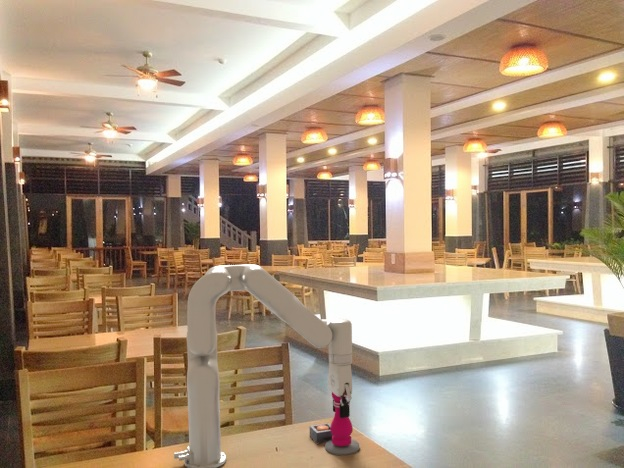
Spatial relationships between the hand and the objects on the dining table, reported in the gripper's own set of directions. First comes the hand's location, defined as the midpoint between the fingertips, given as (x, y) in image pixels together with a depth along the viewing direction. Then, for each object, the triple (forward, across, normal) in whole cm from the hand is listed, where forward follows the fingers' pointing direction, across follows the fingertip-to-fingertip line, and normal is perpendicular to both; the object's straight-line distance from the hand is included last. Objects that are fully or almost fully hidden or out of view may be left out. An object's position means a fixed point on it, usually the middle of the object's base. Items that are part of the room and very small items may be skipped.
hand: (341, 413), depth 182 cm
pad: (+11, 0, 0) cm, 11 cm away
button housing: (+11, -10, -3) cm, 15 cm away
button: (+10, -10, -3) cm, 14 cm away
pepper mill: (+10, 0, 0) cm, 10 cm away
